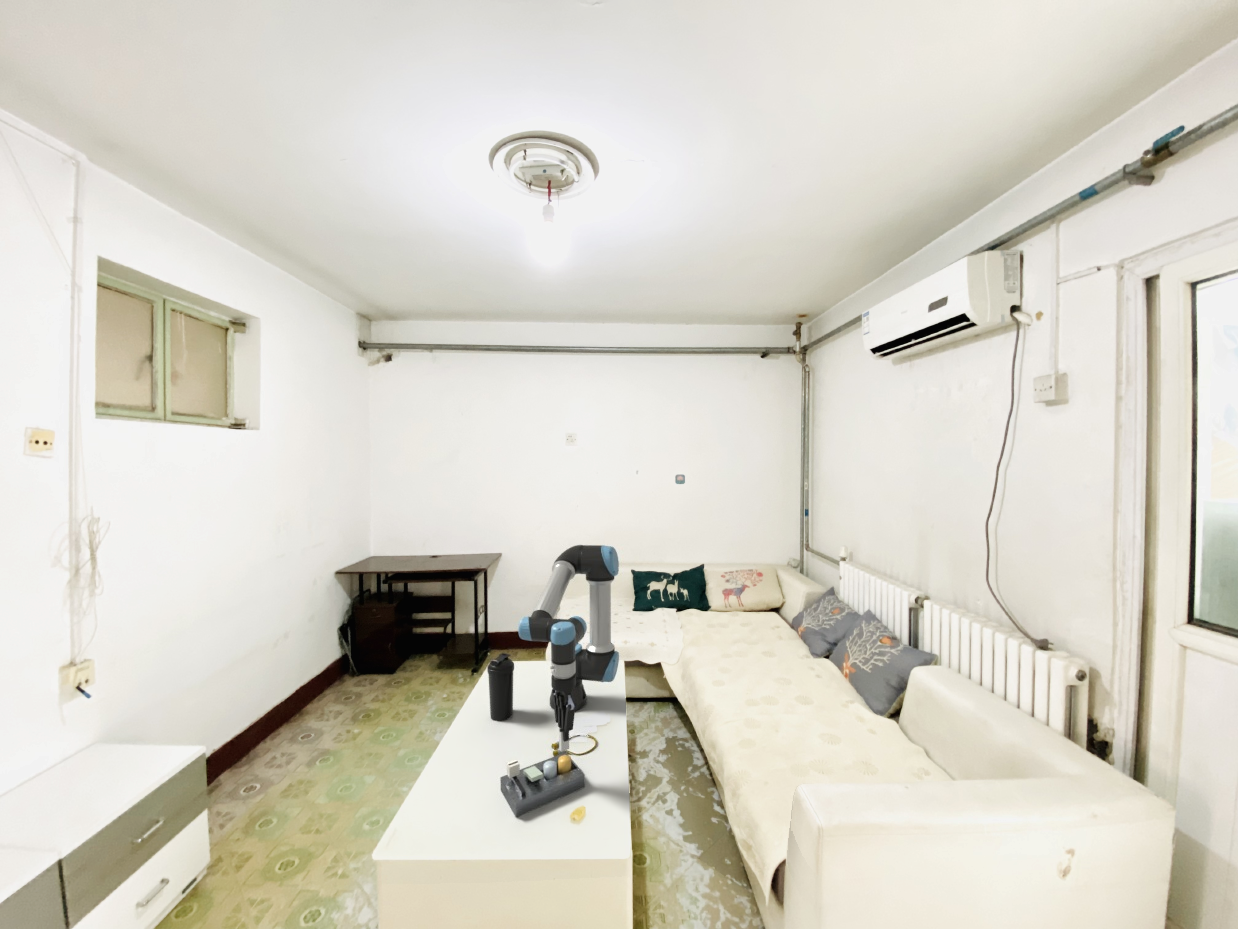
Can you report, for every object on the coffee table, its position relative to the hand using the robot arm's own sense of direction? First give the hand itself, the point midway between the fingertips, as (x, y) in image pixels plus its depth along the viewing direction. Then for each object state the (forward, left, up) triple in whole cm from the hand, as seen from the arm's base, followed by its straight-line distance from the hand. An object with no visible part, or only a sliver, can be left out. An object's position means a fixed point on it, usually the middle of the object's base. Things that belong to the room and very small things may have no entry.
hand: (564, 749), depth 149 cm
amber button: (0, 0, -8) cm, 8 cm away
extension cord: (-11, -14, -11) cm, 21 cm away
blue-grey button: (+5, 0, -8) cm, 9 cm away
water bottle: (+4, -47, -10) cm, 48 cm away
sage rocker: (+10, 0, -4) cm, 11 cm away
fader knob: (+15, -4, -4) cm, 16 cm away
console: (+7, 0, -10) cm, 12 cm away
